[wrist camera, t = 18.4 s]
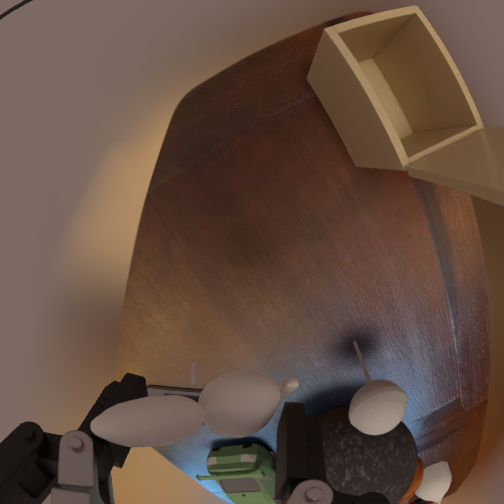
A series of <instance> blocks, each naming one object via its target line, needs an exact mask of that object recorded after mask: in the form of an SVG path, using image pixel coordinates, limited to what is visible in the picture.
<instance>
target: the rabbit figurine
mask: <svg viewBox="0 0 504 504" xmlns="http://www.w3.org/2000/svg"><path fill="white" fill-rule="evenodd" d="M194 369H195V361H194V363H193V364H192V369H191V389H192V387H193V386H194ZM298 386H299V381H298V380H297V379H296V378H290V379H288V380H286V381H285V382H282V383H280V384H279V385H277V384H276V383H275V382H274V381H272V380H271V379H269V378H267V377H265V376H262V375H260V374H255V373H252V372H246V371H235V372H228V373H225V374H223V375H220V376H218V377H216V378H215V379H213V380H212V381H211V382H210V383H208V384H207V385H206V386H205V388H204V389H203V391H202V392H201V394H200V397H199V401H198V403H197V402H196V401H194V400H192V399H190V398H187V397H184V396H180V395H166V396H149V397H144V398H139V399H135V400H131V401H127V402H124V403H119V404H116V405H114V406H112V407H110V408H108V409H107V410H105V411H104V412H103V413H101V414H100V415H99V416H97V417H96V418H95V419H94V420H92V421H91V425H90V428H91V431H92V432H93V433H94V434H95V435H97V436H98V437H100V438H103V439H105V440H107V441H110V442H112V443H115V444H119V445H122V446H127V447H148V446H153V447H158V446H164V445H169V444H172V443H175V442H177V441H180V440H183V439H185V438H188V437H191V436H192V435H194V434H195V433H196V432H197V431H198V430H199V428H200V427H201V425H202V423H204V424H205V425H206V426H207V427H208V428H209V429H210V430H211V431H213V432H215V433H217V434H219V435H222V436H225V437H231V438H242V437H246V436H249V435H251V434H253V433H256V432H257V431H258V430H260V429H261V428H263V427H264V426H265V425H266V424H267V423H268V421H269V420H270V419H271V417H272V416H273V414H274V413H275V411H276V409H277V407H278V405H279V403H280V399H281V397H287V396H289V395H290V394H291V393H292V392H293V391H294V390H296V389H297V388H298Z"/></svg>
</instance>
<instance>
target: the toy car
mask: <svg viewBox="0 0 504 504" xmlns="http://www.w3.org/2000/svg"><path fill="white" fill-rule="evenodd" d="M207 468H208V472H209V473H210V475H211V476H199V475H197V476H196V478H197V479H198V480H200V481H201V480H209V479H215V480H216V481H217V482H218V484H219V485H220V487H221V489H222V490H223V492H224V493H225V494H226V495H227V496H228V497H229V498H230V499H231V500H232V501H233V502H234V503H235V504H281V500H274V497H275V476H276V458H275V455H274V453H273V451H271V450H267V449H265V448H264V447H262V446H260V445H258V444H253V443H252V444H245V445H235V446H226V447H218V448H212V449H211V450H210V452H209V455H208V457H207Z"/></svg>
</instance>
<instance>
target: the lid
mask: <svg viewBox="0 0 504 504" xmlns="http://www.w3.org/2000/svg"><path fill="white" fill-rule="evenodd" d="M406 169H407V172H408V174H409V176H410V177H414V178H418V179H421V180H425V181H428V182H432V183H435V184H439V185H442V186H446V187H449V188H452V189H455V190H458V191H461V192H465V193H468V194H471V195H473V196H477V197H479V198H482V199H485V200H488V201H491V202H493V203H496V204H498V205H501V206H504V127H491V126H488V127H485V128H483V129H481V130H479V131H477V132H475V133H473V134H471V135H469V136H467V137H465V138H463V139H461V140H459V141H457V142H455V143H453V144H451V145H449V146H447V147H444V148H442V149H440V150H438V151H436V152H434V153H432V154H430V155H428V156H426V157H424V158H422V159H420V160H418V161H416V162H414V163H412V164H410V165H408V166H406Z"/></svg>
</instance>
